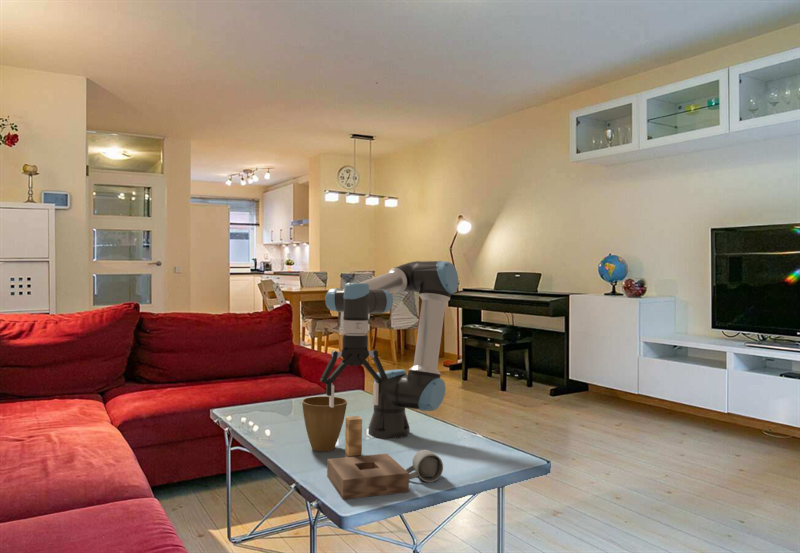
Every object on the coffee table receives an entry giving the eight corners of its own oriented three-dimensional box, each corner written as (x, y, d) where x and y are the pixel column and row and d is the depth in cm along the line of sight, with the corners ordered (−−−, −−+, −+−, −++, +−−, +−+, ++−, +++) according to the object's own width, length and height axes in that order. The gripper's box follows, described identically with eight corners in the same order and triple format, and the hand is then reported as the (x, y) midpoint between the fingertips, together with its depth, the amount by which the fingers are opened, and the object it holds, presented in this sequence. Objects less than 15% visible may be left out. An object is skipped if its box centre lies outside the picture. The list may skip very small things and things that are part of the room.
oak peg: (357, 465, 174) (358, 415, 174) (361, 469, 170) (362, 419, 171) (344, 466, 173) (345, 416, 173) (348, 470, 169) (349, 419, 169)
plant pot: (303, 456, 182) (304, 406, 182) (299, 443, 196) (300, 396, 196) (350, 453, 186) (351, 404, 186) (342, 441, 200) (343, 395, 200)
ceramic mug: (434, 471, 170) (434, 445, 170) (443, 481, 162) (443, 453, 162) (400, 474, 167) (400, 448, 167) (407, 484, 159) (407, 456, 159)
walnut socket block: (386, 470, 170) (387, 453, 170) (408, 491, 153) (408, 473, 153) (327, 476, 164) (327, 459, 164) (342, 499, 147) (343, 479, 147)
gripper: (316, 335, 164) (314, 410, 164) (398, 335, 173) (397, 405, 172) (311, 333, 171) (309, 404, 171) (390, 332, 180) (389, 400, 179)
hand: (353, 405), depth 172 cm, fingers open, 13 cm apart
